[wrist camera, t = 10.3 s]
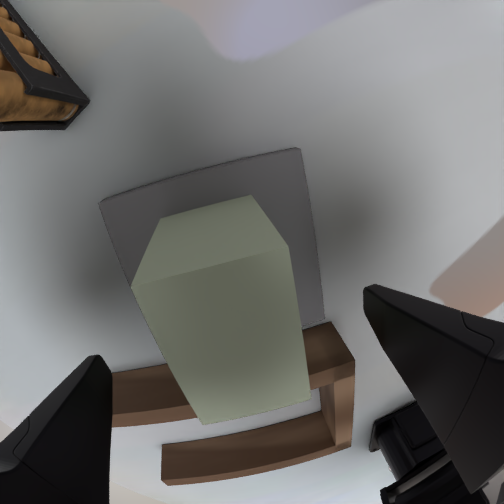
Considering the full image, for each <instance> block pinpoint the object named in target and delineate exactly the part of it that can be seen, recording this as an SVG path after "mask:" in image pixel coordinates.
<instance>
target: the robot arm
mask: <svg viewBox="0 0 504 504" xmlns="http://www.w3.org/2000/svg"><path fill="white" fill-rule="evenodd" d="M363 308H364V313H365V315H366V317H367V319H368V321H369V323H370V325H371V327H372V329H373V331H374V333H375V334H376V336H377V338H378V340H379V342H380V344H381V346H382V348H383V350H384V351H385V353H386V354H387V356H388V358H389V359H390V361H391V362H392V364H393V365H394V367H395V368H396V370H397V371H398V373H399V374H400V376H401V377H402V379H403V380H404V382H405V384H406V385H407V387H408V388H409V390H410V391H411V393H412V395H413V396H414V398H415V399H416V401H417V402H416V403H414V404H412V405H410V406H408V407H406V408H404V409H402V410H400V411H398V412H396V413H394V414H391V415H389V416H387V417H385V418H382V419H380V420H378V421H376V422H375V423H374V426H373V431H372V437H371V442H370V447H369V450H370V452H375V451H377V450H379V449H381V451H382V453H383V455H384V457H385V459H386V461H387V463H388V465H389V467H390V469H391V471H392V473H393V475H394V477H395V479H396V482H395V483H393V484H391V485H389V486H388V487H384V488H383V489H381V490H380V492H381V494H380V496H381V500H382V503H383V504H490V502H489V499H488V498H487V496H486V494H485V493H484V491H483V489H484V488H485V487H486V486H487V485H489V482H488V481H490V480H491V479H492V478H493V477H495V476H496V475H497V474H498V473H500V472H501V471H502V470H503V469H504V323H503V322H499V321H495V320H490V319H486V318H483V317H479V316H476V315H472V314H469V313H466V312H463V311H462V312H461V311H460V310H456V309H453V308H450V307H447V306H444V305H441V304H438V303H434V302H431V301H428V300H425V299H422V298H419V297H415V296H412V295H409V294H406V293H403V292H400V291H396V290H393V289H390V288H387V287H384V286H380V285H377V284H373V285H370V286H367V287H365V288H364V290H363ZM112 417H113V376H112V373H111V370H110V369H109V367H108V366H107V364H106V363H105V361H104V360H103V358H102V357H101V356H100V355H91V356H88V357H87V358H86V359H85V360H84V361H83V362H82V363H81V364H80V365H79V366H78V367H77V368H76V369H75V370H74V371H73V372H72V373H71V374H70V375H69V376H68V377H67V378H66V379H65V380H64V381H63V382H62V383H61V384H59V385H58V386H57V387H56V388H55V389H54V390H53V391H52V392H51V393H50V394H49V395H48V396H47V397H46V398H45V399H44V400H43V401H42V402H41V403H40V404H39V405H38V406H37V407H36V408H35V409H34V410H33V411H32V413H31V414H30V415H29V416H28V417H27V418H26V419H25V420H24V421H23V422H22V423H21V424H20V425H19V426H18V427H17V428H16V429H15V430H14V431H12V432H11V433H10V434H9V435H8V436H7V437H6V438H5V439H4V440H3V441H2V442H0V504H109V472H110V447H111V431H112ZM496 504H504V482H503V483H502V484H501V488H500V492H499V495H498V499H497V502H496Z"/></svg>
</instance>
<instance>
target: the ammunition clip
mask: <svg viewBox="0 0 504 504" xmlns="http://www.w3.org/2000/svg"><path fill="white" fill-rule="evenodd" d="M89 101H90V100H89V99H88V98H87V96H86V95H85V94H84V93H83V92H82V91H81V89H80V88H79V87H78V86H77V85H76V83H75V82H74V81H73V80H72V79H71V78H70V76H69V75H68V74H67V73H66V72H65V70H64V69H63V68H62V67H61V66H60V64H59V63H58V62H57V61H56V60H55V58H54V57H53V56H52V55H51V53H50V52H49V51H48V50H47V49H46V47H45V46H44V45H43V44H42V43H41V41H40V40H39V39H38V38H37V36H36V35H35V34H34V33H33V31H32V30H31V29H30V28H29V27H28V25H27V24H26V23H25V22H24V20H23V19H22V18H21V17H20V15H19V14H18V13H17V12H16V10H15V9H14V8H13V6H12V5H11V4H10V3H9V1H8V0H0V131H18V130H65V129H66V128H67V127H68V125H69V124H70V123H71V122H72V121H73V120H74V119H75V118H76V117H77V115H78V114H79V113H80V112H81V111H82V110H83V109H84V108H85V107H86V106H87V105H88V104H89Z"/></svg>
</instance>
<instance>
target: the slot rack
mask: <svg viewBox="0 0 504 504" xmlns="http://www.w3.org/2000/svg"><path fill="white" fill-rule="evenodd" d="M302 334H303V341H304V348H305V355H306V362H307V369H308V376H309V384H310V390H313V389H316V388H319V391H320V401H321V411H319V412H316V413H313V414H310V415H306V416H303V417H300V418H296V419H293V420H289V421H286V422H282V423H278V424H275V425H271V426H267V427H263V428H259V429H254V430H250V431H245V432H241V433H236V434H231V435H226V436H220V437H215V438H209V439H203V440H196V441H189V442H182V443H173V444H164V445H162V461H161V480H162V481H163V482H164V483H165V484H166V485H168V486H171V485H184V484H195V483H204V482H212V481H219V480H226V479H232V478H238V477H244V476H249V475H254V474H259V473H263V472H268V471H272V470H277V469H281V468H285V467H288V466H292V465H296V464H299V463H303V462H306V461H310V460H313V459H316V458H319V457H323V456H326V455H329V454H332V453H335V452H337V451H340V450H343V449H346V448H348V447H351V440H352V427H353V411H354V387H355V359H354V357H353V356H352V354H351V352H350V351H349V349H348V348H347V346H346V344H345V343H344V341H343V340H342V338H341V336H340V335H339V333H338V332H337V330H336V328H335V327H334V325H333V324H332V322H328V323H325V324H322V325H319V326H315V327H312V328H309V329H306V330H302ZM112 376H113V417H112V427H127V426H138V425H148V424H157V423H165V422H172V421H179V420H186V419H192V418H198V417H197V415H196V413H195V412H194V410H193V408H192V407H191V405H190V403H189V402H188V400H187V398H186V397H185V395H184V393H183V391H182V390H181V388H180V386H179V384H178V382H177V381H176V379H175V377H174V375H173V373H172V372H171V370H170V368H169V366H168V364H164V365H159V366H153V367H148V368H142V369H136V370H130V371H124V372H118V373H112Z"/></svg>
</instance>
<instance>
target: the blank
mask: <svg viewBox="0 0 504 504" xmlns="http://www.w3.org/2000/svg"><path fill="white" fill-rule="evenodd" d="M131 289H132V291H133V294H134V296H135V298H136V300H137V303H138V305H139V307H140V309H141V311H142V314H143V316H144V318H145V320H146V322H147V324H148V326H149V328H150V331H151V333H152V335H153V337H154V339H155V341H156V343H157V345H158V347H159V349H160V351H161V353H162V355H163V356H164V358H165V360H166V362H167V364H168V366H169V368H170V370H171V372H172V373H173V375H174V377H175V379H176V381H177V382H178V384H179V386H180V388H181V390H182V391H183V393H184V395H185V397H186V398H187V400H188V402H189V403H190V405H191V407H192V408H193V410H194V412H195V413H196V415H197V417H198V418H199V420H200V421H201V423H202V425H206V424H212V423H217V422H223V421H228V420H233V419H237V418H242V417H247V416H251V415H255V414H259V413H264V412H268V411H271V410H275V409H279V408H283V407H286V406H290V405H294V404H297V403H300V402H304V401H307V400H310V399H311V392H310V384H309V376H308V369H307V362H306V355H305V348H304V341H303V334H302V327H301V320H300V314H299V308H298V301H297V295H296V289H295V282H294V276H293V270H292V264H291V259H290V253H289V247H288V245H287V244H286V242H285V241H284V239H283V238H282V237H281V235H280V234H279V232H278V231H277V229H276V228H275V227H274V225H273V224H272V222H271V221H270V220H269V218H268V217H267V216H266V214H265V213H264V211H263V210H262V209H261V207H260V206H259V204H258V203H257V202H256V200H255V199H254V198H253V196H252V195H248V196H244V197H240V198H236V199H232V200H228V201H224V202H220V203H216V204H212V205H208V206H204V207H201V208H197V209H193V210H189V211H186V212H182V213H178V214H175V215H171V216H168V217H164V218H161V219H160V221H159V223H158V225H157V227H156V229H155V231H154V234H153V236H152V238H151V240H150V242H149V245H148V247H147V249H146V251H145V254H144V256H143V258H142V260H141V263H140V265H139V267H138V270H137V272H136V275H135V277H134V279H133V282H132V284H131Z"/></svg>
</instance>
